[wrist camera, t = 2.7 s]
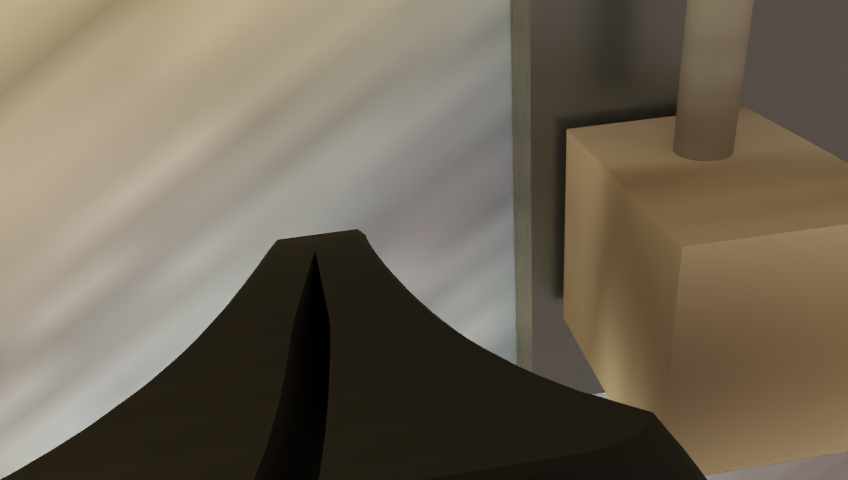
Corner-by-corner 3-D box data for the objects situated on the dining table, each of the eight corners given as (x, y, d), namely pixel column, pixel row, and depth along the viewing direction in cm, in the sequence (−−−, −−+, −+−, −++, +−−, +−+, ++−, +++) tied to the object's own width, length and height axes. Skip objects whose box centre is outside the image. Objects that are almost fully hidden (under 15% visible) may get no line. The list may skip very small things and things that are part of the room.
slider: (719, 294, 13) (866, 447, 10) (563, 317, 13) (656, 483, 9) (814, -377, 9) (1156, -544, 5) (576, -363, 8) (764, -528, 5)
